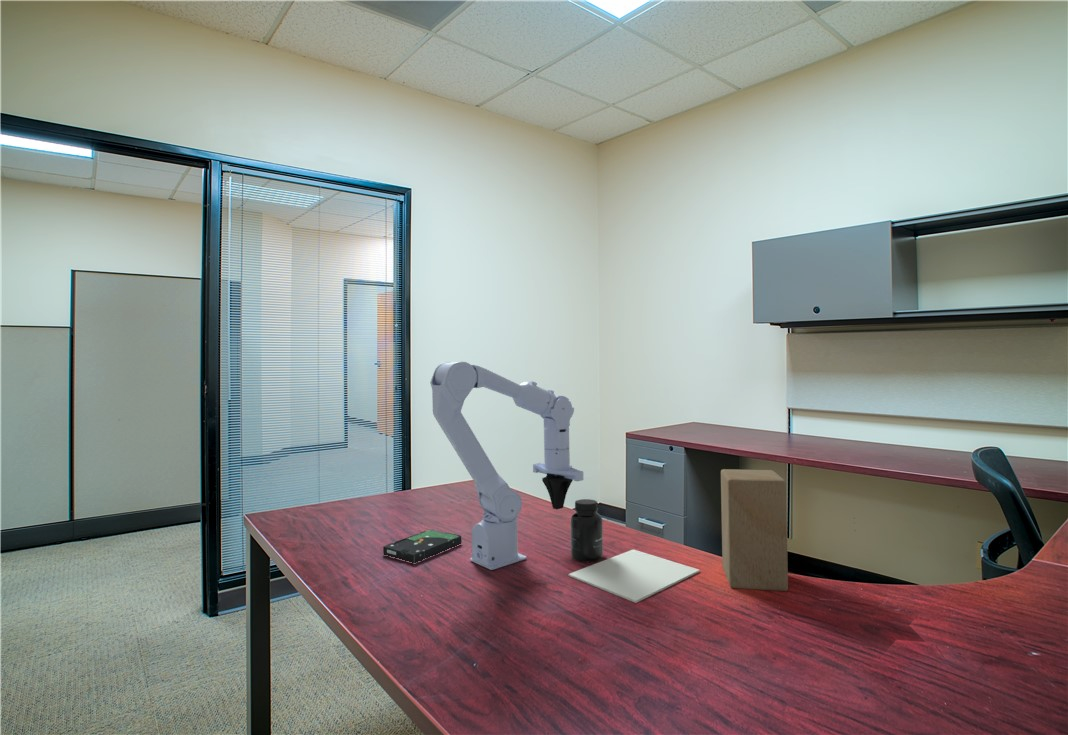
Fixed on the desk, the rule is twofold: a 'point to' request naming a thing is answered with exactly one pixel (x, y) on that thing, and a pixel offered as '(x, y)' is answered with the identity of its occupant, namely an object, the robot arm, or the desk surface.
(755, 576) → the wooden block
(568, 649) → the desk surface
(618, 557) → the mat
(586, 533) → the supplement bottle
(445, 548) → the disk drive
